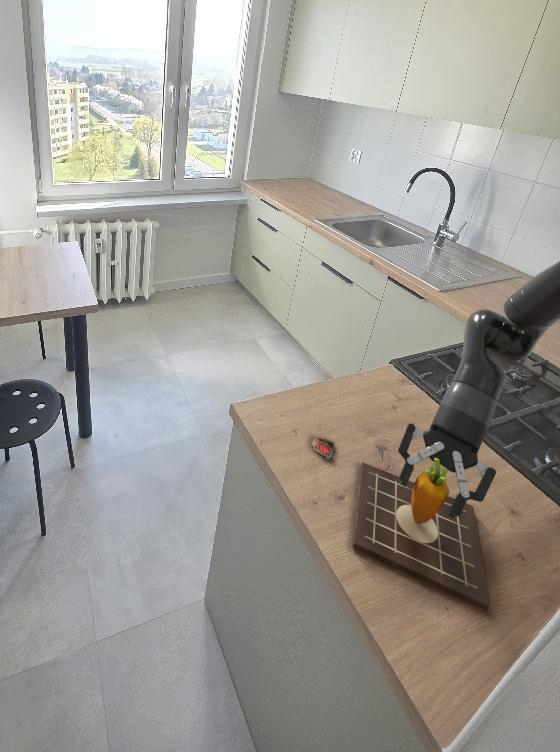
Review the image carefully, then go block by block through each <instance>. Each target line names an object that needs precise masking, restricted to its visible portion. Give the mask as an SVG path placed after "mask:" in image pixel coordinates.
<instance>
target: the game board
mask: <svg viewBox="0 0 560 752" xmlns="http://www.w3.org/2000/svg"><path fill="white" fill-rule="evenodd" d="M358 479H359V480H358V489H357V499H356V500H357V501H356V513H355V520H354V532H353V540H352V542H353V543H352V548H353V549H354V550H356V551H358V552H361V553H363V554H365V555H366V556H369V557H371V558H373V559H375V560H378V561H380V562H381V563H384V564H386V565H388V566H390V567H392V568H394V569H397V570H398V571H401V572H403V573H405V574H406V575H409V576H411V577H413V578H414V579H418V580H419V581H422V582H424V583H426V584H428V585H430V586H432V587H434V588H436V589H439V590H440V591H442V592H444V593H447V594H449V595H452V596H454V597H456V598H457V599H460V600H462V601H464V602H466V603H468V604H470V605H472V606H474V607H477V608H478V609H480V610H483V611H485V612H488V610H489V609H490V607H491V604H490V599H489V592H488V585H487V580H486V575H485V567H484V563H483V562H484V561H483V556H482V551H481V545H480V538H479V532H478V526H477V521H476V514H475V507H474V505H472V504H469V503H467V502H466V504H465V506H464V508H463V511H462V513H461V515H460V516H459V517H458V516H456V515H455V516H454V518H452V517H451V516H449V512H450V510H451V507H452V505H453V503H454V500H455V498H454V497H452V496H449V495H448V497H447V499H446V501H445V503H444V505H443V506H442V508H441V509H440V510H439V511H438V513H437V514H436V515H435V516H434V517H432V518H431V519H430V520H429V521H428V522H426V523H422V524H418V523H416V522H415V521H414V518H413V514H412V510H411V496H412V490H413V487H414V484H415V481H411V480H409V481H408V483H407V485H406V487H405V486H403V485H402V484H401V483H402V480H400V475H399V476H398V475H397V474H394V473H392V472H388V471H386V470H383V469H380V468H379V467H376V466H373V465H371V464H368V463H365V462H363V461H361V464H360V468H359V478H358Z"/></svg>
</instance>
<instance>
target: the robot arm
mask: <svg viewBox="0 0 560 752" xmlns="http://www.w3.org/2000/svg"><path fill="white" fill-rule="evenodd" d="M503 312H504V314H505V316H504V315H503V314H502V315H501V314H500V313H497V312H496V311H494V310H491V309H487V308H481V309H478V310H476V311H473V312H472V313H471V314H470V315H469V316H468V318H467V320H466V322H465V325H464V333H463V344H462V345H463V347H462V353H461V359H460V362H459V366H458V368H457V370H456V373H455V374H454V377H453V380H452V382H451V383H450V385H449V387H448V388H447V389H446V391H445V393H444V395H443V397H442V398H441V401H440V404H439V406H438V409H437V411H436V413H435V415H434V418H433V419H432V422H431V424H430V426H429V428H428V429H426V430H423V429H422V428H420V427H417V426H416V425H415V424H414V423H411V422H410V423H408V424H407V427H406V429H405V432H404V434H403V436H402V439H401V441H400V444H399V447H398V449H397V452H398V454H399V455H400V456H401V457H402V458H403V459H404V461H405V462H404V466H403V468H402V470H401V472H400V474H399V477H400V480H402V483H401V484H402V485H403V486H405V487H406V485H407V483H408V481H410V478H411V476H412V474H413V472H414V469H415V466H416V464H418V463H421V462H422V461H425V460H427V459H430V460H431V461H432V462H433V463H434V458H437V459H439V461H440V466H442V467H443V468H444V467H445V468H447V470H448V472H449V473H453V474H454V473H455V477H456V481H457V485H458V490H459V492H458V494H456V496H455V498H454V499H455V500H454V503H453V505H452V507H451V510H450V512H449V516H451V517H452V518H454V516H455V515H456V516H458V517H459V516H460V515H461V513H462V511H463V508H464V506H465V504H466V503H467V501H468V500H469V501H470V500H472V501H476V502H479V503H482V502H484V500H485V498H486V496H487V493H488V492H489V490H490V487H491V485H492V483H493V481H494V479H495V477H496V474H497V471H496V469H495V468H494V467H491V466H488V465H486V464H485V463H483V462H482V461H480V460H479V458H478V454H479V451H480V449H481V446H482V444H483V441H484V439H485V437H486V435H487V432H488V429H489V427H490V425H491V423H492V420H493V417H494V415H495V411H496V406H497V404H498V401H499V398H500V397H501V394H502V391H503V389H504V386H505V384H506V382H507V374H506V372H505V371H504V369H502V368H501V367H500V366H498V364H497V363H495V362H494V361H493V360H492V359H491V358H490V357H489V355H488V353H487V351H488V352H490V353H492V354H495V355H496V356H499V357H500V358H502V359H505V360H508V361H513V362H518V361H522V360H525V359H527V358H528V357H529V356H530V355H531V354H532V353H533V351H534V350H535V348H536V346H537V344H538V342H539V341H540V340H541V339H542V337H543V336H544V334H545V333H546V332H547V331H548V330H549V328H551V327H552V326H553V325H555V324H557V323H558V322H559V321H560V260H559V261H557V262H555V263H554V264H553V265H551V266H549V267H547V268H546V269H544V270H542V271H541V272H539V273H538V274H536V275H535V276H533V277H532V278H531V279H530V280H528V281H527V282H526V283H524V284H523V285H522V286H521V287H520V288H518V289H517V290H516V291H515V292H514V293H512V295H510V296H509V297H507V299H506V300H505V301H504V303H503ZM419 437H422V438H423V443H424V445H425V448H424V449H422V450H420V451H418V452H417V453H414V454H412V455H410V453H409V452H408V450H409V447H410V445H411V442H412V440H413V439H414V440H417V439H419ZM473 467H476V468H477V469H478V472H477V474H478V476H479V477H480V478H481V479H480V481H479V483H478V485H477V487H476V490H475V491H471V490H469V486H468V481H467V476H466V473H465V470H469V469H471V468H473Z"/></svg>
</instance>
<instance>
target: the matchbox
mask: <svg viewBox="0 0 560 752" xmlns="http://www.w3.org/2000/svg"><path fill="white" fill-rule="evenodd" d="M311 446H313V448H312V450H314V451H316V452H318V453H320V454H321V455H322V456H325V459H326V460H328V461H332V459H330V458H331V457H332V455H333V452H334V449H335V443H334V442H333V441H331V440H328V439H326V438H322V437H318V438H313V439H311Z"/></svg>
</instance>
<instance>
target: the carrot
mask: <svg viewBox="0 0 560 752" xmlns="http://www.w3.org/2000/svg"><path fill="white" fill-rule="evenodd" d="M433 463H434V466H433V465H432V464H429V465H428V468H429V470H427V469H425V470H424V471H423V472H420V474H418V475H417V477H416V478H415V481H414V483H415V484H414V487H413V490H412V496H411V510H412V514H413V518H414V521H415V522H416V523H418V524H422V523H426V522H428V521H429V520H430V519H431V518H432V517H434V516H435V515H436V514H437V513H438V511H439V510H440V509H441V508H442V506H443V505H444V503H445V501H446V499H447V497H448V496H449V495H450V489H449V486H448V485H447V478H446V477H447V474H448V472H449V470H447V468H445V467H443V468H442V469H441V465H440V461H439V459H437V458H434V462H433ZM441 470H442V471H441Z"/></svg>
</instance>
